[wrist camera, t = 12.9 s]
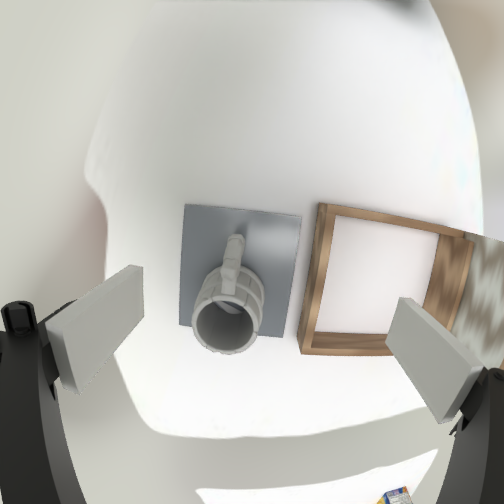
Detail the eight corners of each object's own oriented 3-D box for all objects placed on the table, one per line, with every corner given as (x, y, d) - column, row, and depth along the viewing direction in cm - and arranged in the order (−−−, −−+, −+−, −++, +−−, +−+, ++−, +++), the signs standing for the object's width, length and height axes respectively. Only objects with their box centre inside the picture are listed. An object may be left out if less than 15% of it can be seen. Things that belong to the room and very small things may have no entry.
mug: (202, 314, 35) (178, 367, 24) (208, 224, 33) (180, 241, 21) (260, 322, 35) (260, 378, 24) (272, 231, 33) (279, 252, 21)
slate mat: (186, 204, 33) (184, 204, 32) (300, 216, 33) (301, 217, 32) (180, 322, 36) (179, 324, 36) (282, 335, 36) (282, 337, 36)
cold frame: (319, 202, 33) (388, 215, 14) (450, 227, 32) (548, 256, 14) (295, 341, 36) (318, 449, 18) (420, 343, 36) (484, 415, 18)
